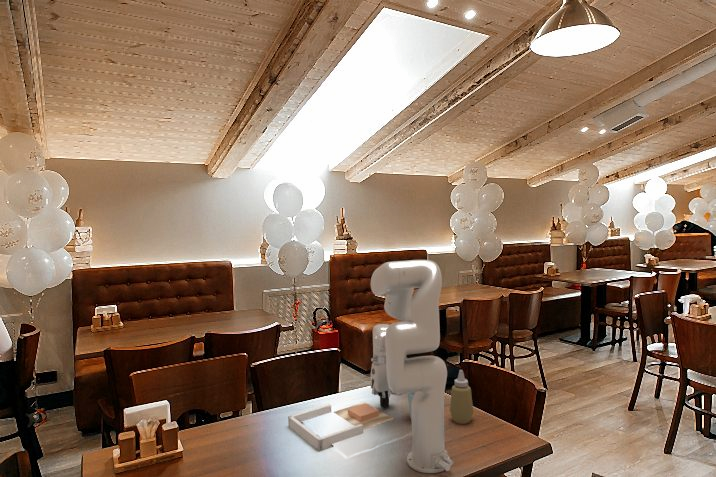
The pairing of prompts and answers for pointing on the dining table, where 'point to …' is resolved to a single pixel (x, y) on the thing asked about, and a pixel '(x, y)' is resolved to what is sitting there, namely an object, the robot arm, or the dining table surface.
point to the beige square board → (367, 423)
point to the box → (314, 439)
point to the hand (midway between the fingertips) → (384, 406)
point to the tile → (363, 412)
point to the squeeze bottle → (461, 400)
